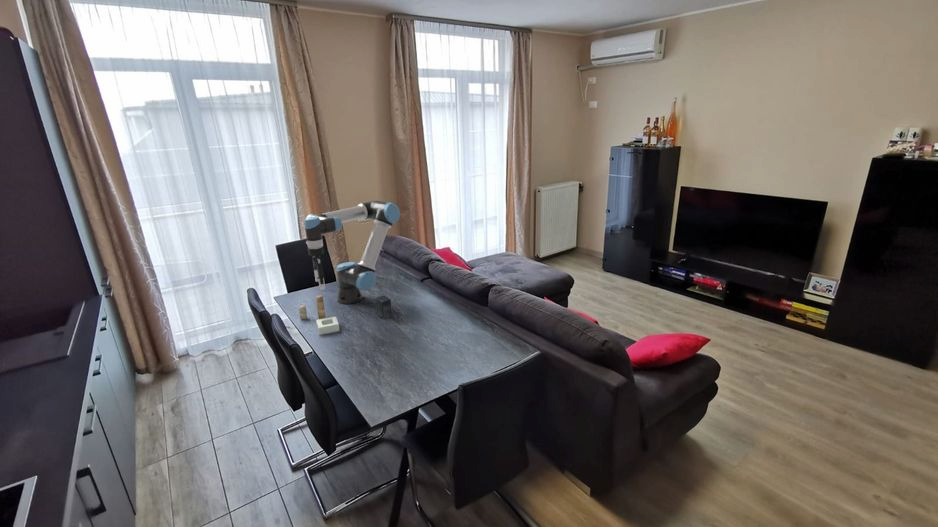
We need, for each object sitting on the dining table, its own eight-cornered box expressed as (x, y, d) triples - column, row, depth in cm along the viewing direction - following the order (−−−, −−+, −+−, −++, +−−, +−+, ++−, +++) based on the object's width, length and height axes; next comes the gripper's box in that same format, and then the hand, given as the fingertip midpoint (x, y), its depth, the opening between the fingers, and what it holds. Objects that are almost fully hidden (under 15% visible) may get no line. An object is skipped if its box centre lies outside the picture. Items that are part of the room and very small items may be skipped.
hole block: (317, 326, 218) (316, 320, 217) (336, 323, 222) (335, 316, 221) (319, 334, 210) (318, 327, 208) (339, 330, 214) (338, 324, 212)
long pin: (318, 319, 226) (315, 296, 222) (325, 318, 228) (322, 295, 223) (319, 322, 223) (316, 298, 219) (326, 320, 225) (323, 297, 220)
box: (392, 316, 230) (390, 299, 227) (383, 319, 227) (381, 301, 223) (385, 311, 236) (384, 294, 232) (376, 314, 232) (375, 297, 229)
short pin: (300, 317, 229) (298, 306, 226) (307, 316, 230) (305, 304, 228) (300, 320, 226) (298, 308, 223) (307, 318, 227) (305, 307, 225)
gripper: (304, 242, 220) (309, 279, 227) (311, 254, 200) (316, 294, 206) (319, 240, 224) (323, 276, 231) (327, 252, 203) (332, 291, 210)
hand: (320, 285), depth 219 cm, fingers open, 13 cm apart
